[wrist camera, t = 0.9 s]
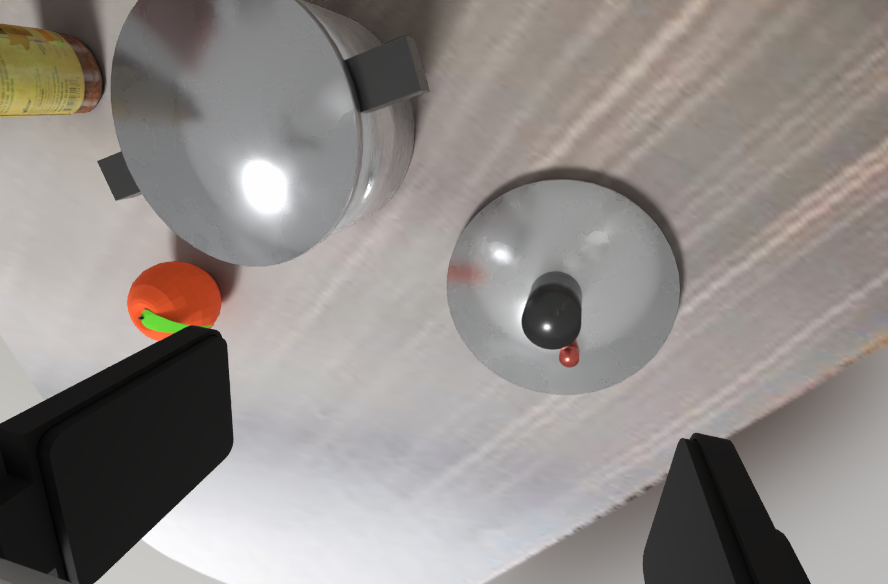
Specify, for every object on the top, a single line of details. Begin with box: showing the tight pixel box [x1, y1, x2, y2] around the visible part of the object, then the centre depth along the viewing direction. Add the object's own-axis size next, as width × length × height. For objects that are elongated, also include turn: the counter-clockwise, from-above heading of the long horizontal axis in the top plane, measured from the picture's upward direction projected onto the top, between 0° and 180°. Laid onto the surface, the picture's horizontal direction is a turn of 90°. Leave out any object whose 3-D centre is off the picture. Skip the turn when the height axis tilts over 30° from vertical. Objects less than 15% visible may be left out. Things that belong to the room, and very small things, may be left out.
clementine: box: [127, 261, 221, 341], centre depth 41 cm, size 8×7×7 cm
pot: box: [97, 0, 430, 266], centre depth 31 cm, size 22×16×10 cm
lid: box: [447, 179, 680, 395], centre depth 33 cm, size 16×16×6 cm
